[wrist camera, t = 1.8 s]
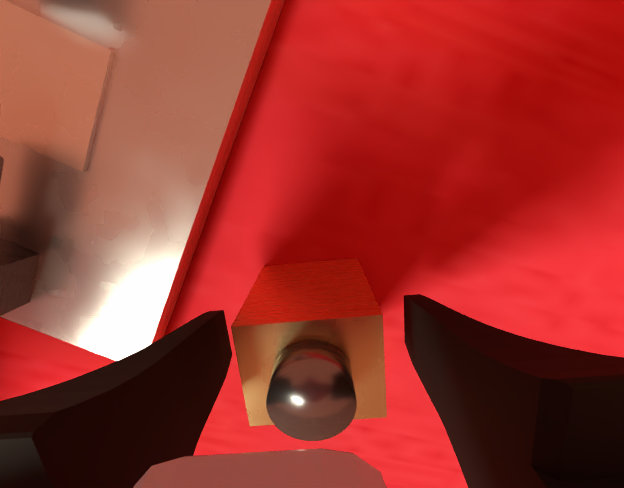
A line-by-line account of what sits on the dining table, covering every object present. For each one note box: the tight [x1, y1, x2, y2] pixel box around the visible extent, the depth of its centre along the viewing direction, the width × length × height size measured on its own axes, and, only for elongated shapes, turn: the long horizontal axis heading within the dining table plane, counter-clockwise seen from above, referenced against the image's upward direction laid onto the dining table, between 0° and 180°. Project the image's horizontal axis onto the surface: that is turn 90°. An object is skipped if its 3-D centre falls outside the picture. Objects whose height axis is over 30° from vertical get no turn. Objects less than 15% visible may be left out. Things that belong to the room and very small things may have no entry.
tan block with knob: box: [231, 258, 387, 441], centre depth 11 cm, size 4×4×7 cm
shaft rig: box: [0, 0, 285, 361], centre depth 10 cm, size 20×14×5 cm
